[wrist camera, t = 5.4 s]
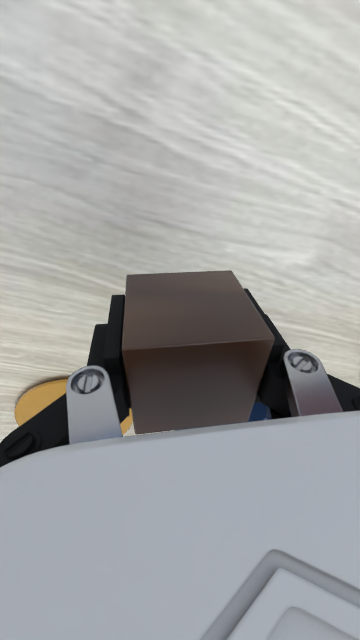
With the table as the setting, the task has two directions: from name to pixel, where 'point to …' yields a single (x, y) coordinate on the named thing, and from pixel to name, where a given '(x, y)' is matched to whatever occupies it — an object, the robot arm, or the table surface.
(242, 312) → the block
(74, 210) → the table surface
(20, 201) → the table surface
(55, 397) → the cover
